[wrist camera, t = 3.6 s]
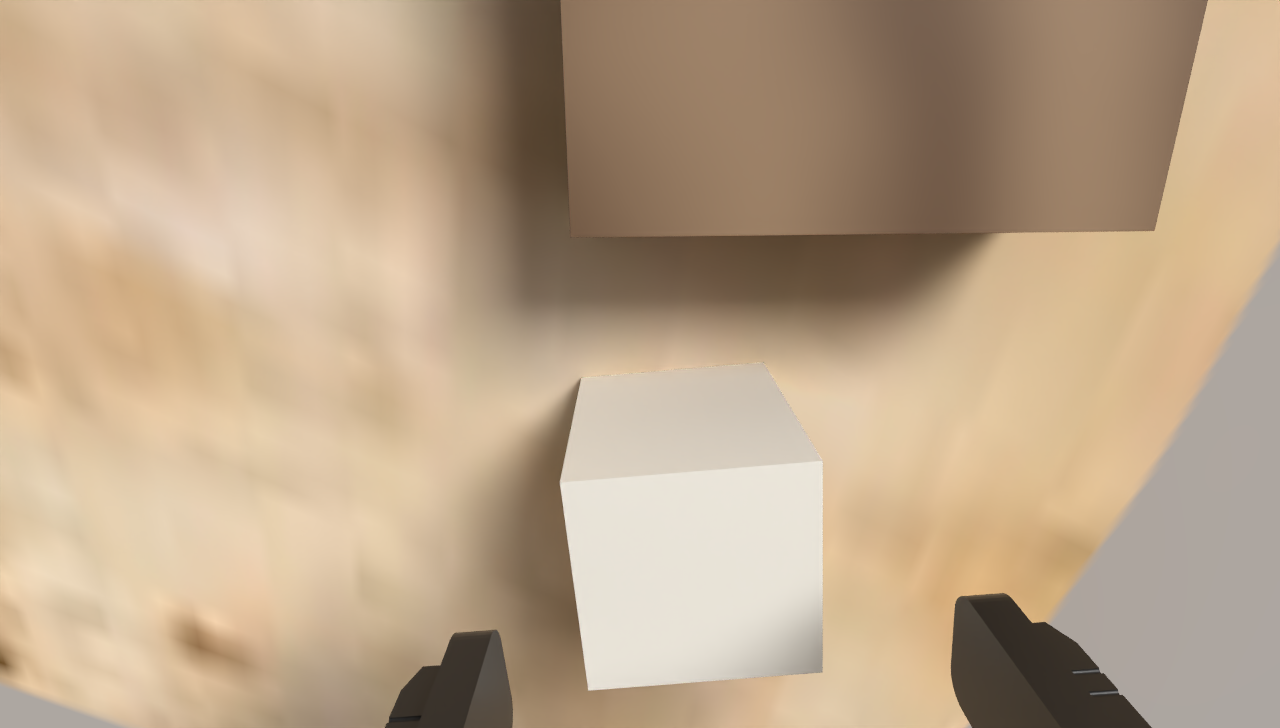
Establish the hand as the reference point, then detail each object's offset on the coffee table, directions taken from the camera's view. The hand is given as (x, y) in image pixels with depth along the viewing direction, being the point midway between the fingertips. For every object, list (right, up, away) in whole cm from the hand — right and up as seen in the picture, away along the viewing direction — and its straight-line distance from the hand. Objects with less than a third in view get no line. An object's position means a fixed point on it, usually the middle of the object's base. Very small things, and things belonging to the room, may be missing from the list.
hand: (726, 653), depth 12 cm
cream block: (0, +3, +7) cm, 8 cm away
